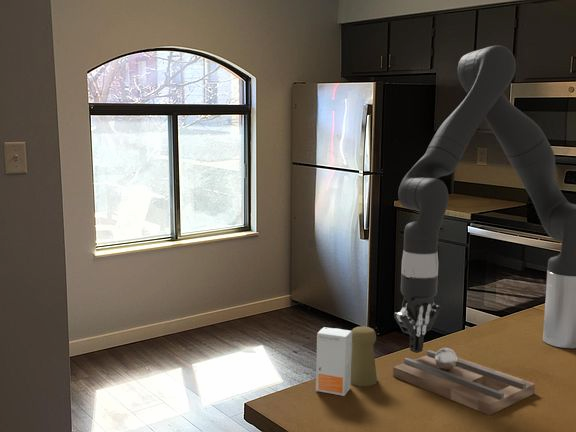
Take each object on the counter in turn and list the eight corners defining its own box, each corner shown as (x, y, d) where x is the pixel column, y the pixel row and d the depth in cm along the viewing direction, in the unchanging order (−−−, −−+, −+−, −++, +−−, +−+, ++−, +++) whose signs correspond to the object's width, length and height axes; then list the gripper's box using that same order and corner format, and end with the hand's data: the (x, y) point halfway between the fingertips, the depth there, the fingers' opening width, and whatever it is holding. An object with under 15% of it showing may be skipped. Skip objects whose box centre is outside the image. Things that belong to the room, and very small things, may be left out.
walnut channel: (438, 359, 144) (439, 346, 144) (534, 393, 127) (535, 378, 126) (392, 376, 135) (393, 362, 135) (489, 415, 117) (490, 399, 117)
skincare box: (315, 391, 127) (315, 332, 125) (322, 383, 131) (323, 326, 129) (345, 397, 125) (346, 336, 123) (351, 388, 129) (352, 330, 127)
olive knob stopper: (376, 387, 129) (377, 334, 128) (345, 384, 130) (346, 331, 129) (378, 375, 135) (379, 324, 134) (349, 373, 136) (350, 322, 135)
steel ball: (443, 363, 137) (444, 343, 136) (461, 369, 133) (462, 349, 133) (430, 368, 134) (430, 347, 133) (447, 374, 131) (448, 353, 130)
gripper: (425, 264, 144) (422, 340, 146) (384, 273, 135) (381, 353, 138) (453, 271, 138) (449, 349, 140) (412, 280, 130) (409, 363, 132)
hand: (416, 351), depth 139 cm, fingers closed
